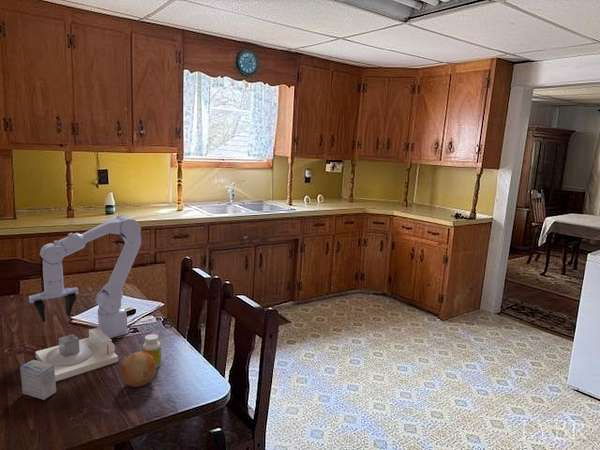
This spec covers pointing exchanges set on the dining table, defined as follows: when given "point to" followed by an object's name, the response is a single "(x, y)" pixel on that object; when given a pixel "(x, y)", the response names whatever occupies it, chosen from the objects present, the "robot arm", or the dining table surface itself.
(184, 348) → the dining table surface
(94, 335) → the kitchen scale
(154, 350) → the supplement bottle
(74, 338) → the steel weight
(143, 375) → the onion
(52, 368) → the medicine box
